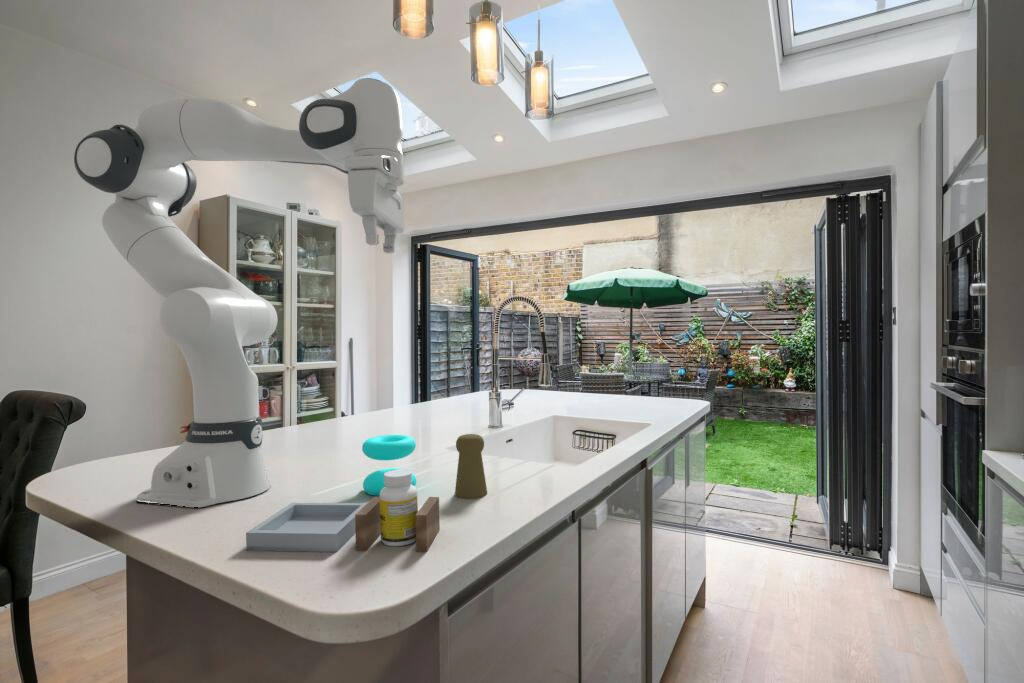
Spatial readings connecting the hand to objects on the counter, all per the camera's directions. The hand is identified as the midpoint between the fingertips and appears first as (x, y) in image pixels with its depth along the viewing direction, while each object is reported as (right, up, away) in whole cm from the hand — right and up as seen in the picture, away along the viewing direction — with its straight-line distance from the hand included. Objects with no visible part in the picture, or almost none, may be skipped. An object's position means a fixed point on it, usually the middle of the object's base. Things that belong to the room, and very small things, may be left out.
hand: (381, 249), depth 96 cm
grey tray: (-6, -46, -17) cm, 49 cm away
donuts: (0, -46, +5) cm, 46 cm away
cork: (+16, -45, +2) cm, 48 cm away
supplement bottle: (+8, -46, -20) cm, 51 cm away
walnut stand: (+8, -46, -20) cm, 50 cm away
